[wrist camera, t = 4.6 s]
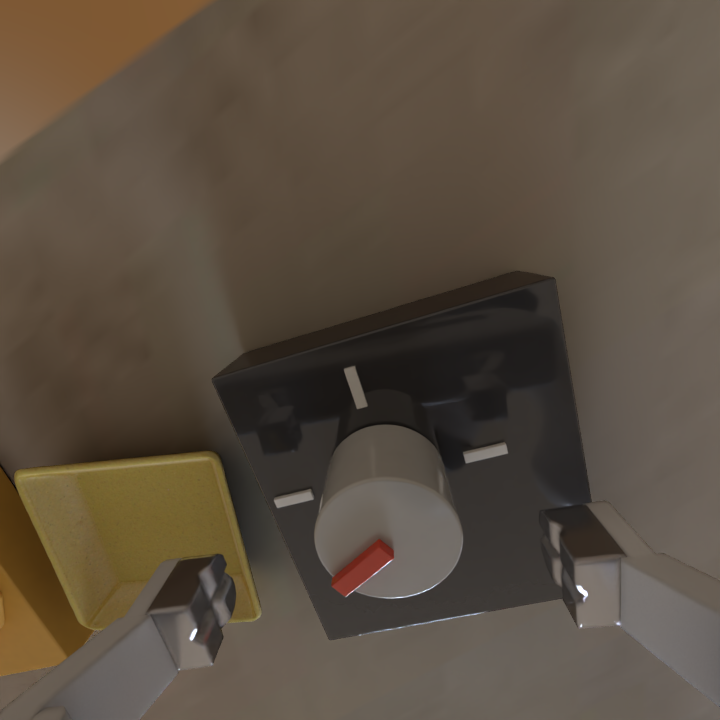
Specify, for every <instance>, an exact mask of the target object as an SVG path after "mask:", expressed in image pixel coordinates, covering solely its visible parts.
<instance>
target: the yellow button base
mask: <svg viewBox="0 0 720 720" xmlns="http://www.w3.org/2000/svg"><path fill="white" fill-rule="evenodd" d="M93 632H94V630H92V629H89V628H87V627H85V626H83V625H81V624H80V623H79V622H78V620H77V618H76V616H75V614H74V611H73V609H72V607H71V605H70V603H69V601H68V598H67V596H66V594H65V592H64V590H63V587H62V585H61V583H60V581H59V579H58V577H57V575H56V572H55V570H54V568H53V566H52V563H51V561H50V560H49V557H48V555H47V553H46V551H45V548H44V546H43V544H42V543H41V540H40V538H39V535H38V533H37V531H36V529H35V527H34V525H33V523H32V521H31V518H30V516H29V514H28V512H27V511H26V508H25V506H24V504H23V501H22V499H21V497H20V496H19V493H18V492H17V490H16V489H15V487H14V486H13V484H12V483H11V481H10V480H9V478H8V477H7V475H6V474H5V472H4V471H3V469H2V468H1V466H0V676H3V675H8V674H14V673H19V672H24V671H29V670H35V669H40V668H45V667H50V666H56V665H59V664H60V663H61V662H63V661H64V660H65V659H67V658H68V657H69V656H70V655H72V654H73V653H74V652H75V651H77V650H78V649H79V648H81V647H82V646H83V645H84V644H85V642H86V641H87V640H88V638H89V637H90V636H91V634H92V633H93Z"/></svg>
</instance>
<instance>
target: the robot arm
mask: <svg viewBox="0 0 720 720" xmlns="http://www.w3.org/2000/svg"><path fill="white" fill-rule="evenodd" d="M539 524H540V526H541V528H542V530H543V531H544V534H543V536H542V537H541V538H540V540H541V549H542V553H543V557H544V561H545V564H546V567H547V569H548V572H549V574H550V576H551V578H552V580H553V582H555V583H556V584H557V585H559V586H560V587H562V593H563V601H564V603H565V605H566V606H567V608H568V610H569V612H570V614H571V616H572V618H573V620H574V622H575V623H576V625H577V627H578V629H581V628H595V627H609V626H621V628H622V629H623V630H624V631H625V632H627V633H628V634H629V635H630V636H632V637H633V638H634V639H635V640H637V641H638V642H639V643H640V644H641V645H643V646H644V647H645V648H646V649H648V650H649V651H650V652H651V653H653V654H654V655H655V656H656V657H658V658H659V659H660V660H661V661H663V662H664V663H665V664H666V665H668V666H669V667H670V668H671V669H673V670H674V671H675V672H676V673H678V674H679V675H680V676H681V677H683V678H684V679H685V680H686V681H687V682H689V683H690V684H691V685H692V686H694V687H695V688H696V689H697V690H699V691H700V692H701V693H702V694H704V695H705V696H706V697H707V698H709V699H710V700H711V701H712V702H714V703H715V704H716V705H717V706H719V707H720V580H718V579H716V578H713V577H711V576H709V575H707V574H705V573H703V572H701V571H699V570H697V569H695V568H693V567H691V566H689V565H687V564H685V563H683V562H681V561H679V560H676V559H674V558H672V557H670V556H668V555H666V554H664V553H659V554H656V553H655V552H654V551H653V550H652V549H651V548H650V547H649V546H648V545H647V543H646V542H645V541H644V540H643V539H642V538H641V537H640V536H639V535H638V534H637V532H636V531H635V530H634V529H633V528H632V527H631V526H630V525H629V524H628V523H627V521H626V520H625V519H624V518H623V517H622V516H621V515H620V514H619V513H618V511H617V510H616V509H615V508H614V507H613V506H612V505H611V504H610V503H609V502H607V501H605V500H604V501H597V502H590V503H584V504H579V505H572V506H565V507H558V508H551V509H544V510H540V511H539ZM226 566H227V563H226V561H225V558H224V556H223V555H222V554H209V555H199V556H190V557H183V558H175V559H166V560H165V561H163V562H162V563H160V565H159V566H158V568H157V569H156V571H155V572H154V574H153V575H152V577H151V578H150V580H149V581H148V582H147V584H146V585H145V587H144V588H143V590H142V591H141V593H140V594H139V596H138V597H137V599H136V600H135V602H134V603H133V605H132V606H131V607H130V609H129V610H128V612H127V613H126V615H125V616H124V617H122V618H117V619H116V620H115V621H114V622H112V623H111V624H110V625H109V626H107V627H106V628H105V629H103V630H102V631H101V632H100V633H98V634H97V635H96V636H95V637H93V638H92V639H91V640H89V641H88V642H87V643H86V644H84V645H83V646H82V647H81V648H79V649H78V650H77V651H75V652H74V653H73V654H72V655H70V656H69V657H68V658H67V659H65V660H64V661H63V662H61V663H60V664H59V665H58V666H56V667H55V668H54V669H53V670H51V671H50V672H49V673H47V674H46V675H45V676H44V677H42V678H41V679H40V680H39V681H37V682H36V683H35V684H33V685H32V686H31V687H30V688H28V689H27V690H26V691H25V692H23V693H22V694H21V695H19V696H18V697H17V698H16V699H14V700H13V701H12V702H11V703H9V704H8V705H7V706H6V707H4V708H3V709H2V710H1V711H0V720H140V718H141V717H142V716H143V715H144V714H145V712H146V711H147V710H148V709H149V708H150V706H151V705H152V704H153V703H154V702H155V700H156V699H157V698H158V697H159V696H160V694H161V693H162V692H163V691H164V690H165V689H166V687H167V686H168V685H169V684H170V683H171V681H172V680H173V679H174V678H175V677H176V675H177V674H178V671H179V670H187V669H194V668H201V667H208V666H213V663H214V660H215V658H216V655H217V653H218V650H219V648H220V645H221V643H222V640H223V633H222V629H221V628H222V627H223V626H224V625H225V624H226V623H227V622H228V621H229V620H230V619H231V617H232V614H233V611H234V608H235V602H236V588H235V583H234V581H233V578H232V577H231V576H229V575H228V574H227V573H225V572H224V571H225V569H226Z"/></svg>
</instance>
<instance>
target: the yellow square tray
mask: <svg viewBox="0 0 720 720" xmlns="http://www.w3.org/2000/svg"><path fill="white" fill-rule="evenodd" d="M14 480H15V485H16V488H17V490H18V493H19V496H20V497H21V499H22V501H23V504H24V506H25V508H26V511H27V512H28V514H29V516H30V518H31V521H32V523H33V525H34V527H35V529H36V531H37V533H38V535H39V538H40V540H41V543H42V544H43V546H44V548H45V551H46V553H47V555H48V557H49V560H50V561H51V563H52V566H53V568H54V570H55V572H56V575H57V577H58V579H59V581H60V583H61V585H62V587H63V590H64V592H65V594H66V596H67V598H68V601H69V603H70V605H71V607H72V609H73V611H74V614H75V616H76V618H77V620H78V622H79V623H80V624H81V625H83V626H85V627H87V628H89V629H92V630H103V629H105V628H106V627H107V626H109V625H110V624H111V623H112V622H114V621H115V620H116V619H117V618H122V617H124V616H125V615H126V613H127V612H128V610H129V609H130V607H131V606H132V605H133V603H134V602H135V600H136V599H137V597H138V596H139V594H140V593H141V591H142V590H143V588H144V587H145V585H146V584H147V582H148V581H149V580H150V578H151V577H152V575H153V574H154V572H155V571H156V569H157V568H158V566H159V565H160V563H162V562H163V561H165V560H166V559H175V558H183V557H190V556H199V555H209V554H222V555H223V556H224V558H225V561H226V563H227V566H226V569H225V571H224V572H225V573H227V574H228V575H229V576H231V577H232V578H233V581H234V583H235V588H236V602H235V608H234V611H233V614H232V617H231V619H230V620H229V621H228V622H227V623H232V622H250V621H254V620H256V619H258V618H259V617H260V616H261V613H262V611H261V606H260V601H259V597H258V594H257V590H256V587H255V583H254V579H253V576H252V572H251V568H250V564H249V560H248V557H247V553H246V550H245V546H244V542H243V539H242V535H241V531H240V527H239V524H238V520H237V516H236V512H235V509H234V505H233V501H232V498H231V494H230V490H229V487H228V483H227V479H226V475H225V472H224V468H223V464H222V460H221V458H220V456H219V454H218V453H216V452H214V451H210V450H208V451H198V452H189V453H179V454H169V455H159V456H148V457H137V458H127V459H116V460H106V461H95V462H85V463H75V464H65V465H54V466H42V467H33V468H26V469H19V470H17V471H16V472H15V475H14Z"/></svg>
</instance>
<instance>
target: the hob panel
mask: <svg viewBox="0 0 720 720" xmlns="http://www.w3.org/2000/svg"><path fill="white" fill-rule="evenodd" d="M212 383H213V385H214V387H215V389H216V391H217V394H218V396H219V398H220V400H221V402H222V405H223V407H224V409H225V411H226V413H227V416H228V418H229V420H230V422H231V425H232V427H233V429H234V431H235V433H236V436H237V438H238V440H239V442H240V444H241V447H242V449H243V451H244V453H245V455H246V458H247V460H248V462H249V464H250V467H251V469H252V471H253V473H254V475H255V478H256V480H257V482H258V484H259V486H260V489H261V491H262V493H263V495H264V497H265V500H266V502H267V504H268V506H269V508H270V511H271V513H272V515H273V517H274V520H275V522H276V524H277V526H278V528H279V531H280V533H281V535H282V537H283V539H284V542H285V544H286V546H287V548H288V550H289V553H290V555H291V557H292V559H293V561H294V564H295V566H296V568H297V570H298V573H299V575H300V577H301V579H302V581H303V584H304V586H305V588H306V590H307V592H308V595H309V597H310V599H311V601H312V603H313V606H314V608H315V610H316V612H317V614H318V617H319V619H320V621H321V623H322V626H323V628H324V630H325V632H326V634H327V637H328V639H329V640H335V639H341V638H346V637H352V636H357V635H363V634H368V633H374V632H379V631H385V630H390V629H396V628H402V627H407V626H413V625H418V624H424V623H429V622H435V621H440V620H446V619H451V618H457V617H462V616H468V615H474V614H479V613H485V612H490V611H496V610H501V609H507V608H512V607H518V606H523V605H529V604H534V603H540V602H545V601H551V600H557V599H562V598H563V593H562V587H560V586H559V585H557V584H556V583H555V582H553V580H552V578H551V576H550V574H549V572H548V569H547V567H546V564H545V561H544V557H543V553H542V549H541V540H540V538H541V537H542V536H543V534H544V531H543V530H542V528H541V526H540V524H539V511H540V510H544V509H551V508H558V507H565V506H572V505H579V504H584V503H590V502H592V500H591V494H590V488H589V482H588V476H587V470H586V464H585V458H584V452H583V445H582V439H581V433H580V427H579V421H578V415H577V409H576V403H575V397H574V390H573V384H572V378H571V372H570V366H569V360H568V354H567V348H566V342H565V335H564V329H563V323H562V317H561V311H560V305H559V299H558V293H557V286H556V280H555V278H554V277H550V276H544V275H539V274H534V273H529V272H523V271H514V272H511V273H507V274H504V275H501V276H497V277H494V278H491V279H487V280H484V281H481V282H477V283H474V284H471V285H468V286H464V287H461V288H458V289H454V290H451V291H448V292H444V293H441V294H438V295H435V296H431V297H428V298H425V299H421V300H418V301H415V302H411V303H408V304H405V305H401V306H398V307H395V308H392V309H388V310H385V311H382V312H378V313H375V314H372V315H368V316H365V317H362V318H358V319H355V320H352V321H349V322H345V323H342V324H339V325H335V326H332V327H329V328H325V329H322V330H319V331H315V332H312V333H309V334H306V335H302V336H299V337H296V338H292V339H289V340H286V341H282V342H279V343H276V344H273V345H269V346H266V347H263V348H259V349H256V350H253V351H249V352H246V353H243V354H242V355H241V356H239V357H238V358H237V359H236V360H234V361H233V362H232V363H231V364H229V365H228V366H227V367H226V368H224V369H223V370H222V371H221V372H219V373H218V374H217V375H216V376H214V377H213V378H212ZM384 424H386V425H397V426H402V427H405V428H409V429H411V430H413V431H416V432H417V433H419V434H421V435H422V436H424V437H425V438H426V439H428V440H429V441H430V442H431V443H432V444H433V445H434V446H435V448H436V449H437V450H438V452H439V454H440V456H441V458H442V460H443V463H444V466H445V470H446V473H447V476H448V480H449V483H450V487H451V490H452V494H453V497H454V501H455V504H456V507H457V511H458V514H459V518H460V521H461V525H462V530H463V547H462V551H461V555H460V558H459V560H458V562H457V564H456V566H455V567H454V569H453V570H452V572H451V573H450V574H449V575H448V576H447V577H446V578H445V579H444V580H443V581H442V582H441V583H439V584H438V585H436V586H435V587H433V588H431V589H429V590H427V591H425V592H423V593H420V594H417V595H414V596H410V597H404V598H393V599H387V598H377V597H371V596H367V595H363V594H361V593H358V592H355V591H353V592H352V593H350V594H349V595H348V596H347V597H345V596H343V595H342V594H341V593H339V592H338V591H337V590H335V589H334V588H333V587H332V586H331V583H332V578H333V577H332V576H331V574H330V573H329V572H328V571H327V570H326V569H325V567H324V566H323V564H322V562H321V561H320V559H319V557H318V554H317V551H316V548H315V542H314V529H315V523H316V518H317V514H318V510H319V505H320V501H321V497H322V492H323V488H324V484H325V480H326V475H327V471H328V467H329V463H330V460H331V457H332V455H333V453H334V451H335V450H336V448H337V447H338V446H339V445H340V443H341V442H342V441H343V440H345V439H346V438H347V437H348V436H350V435H351V434H353V433H354V432H356V431H359V430H361V429H363V428H366V427H369V426H374V425H384Z"/></svg>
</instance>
